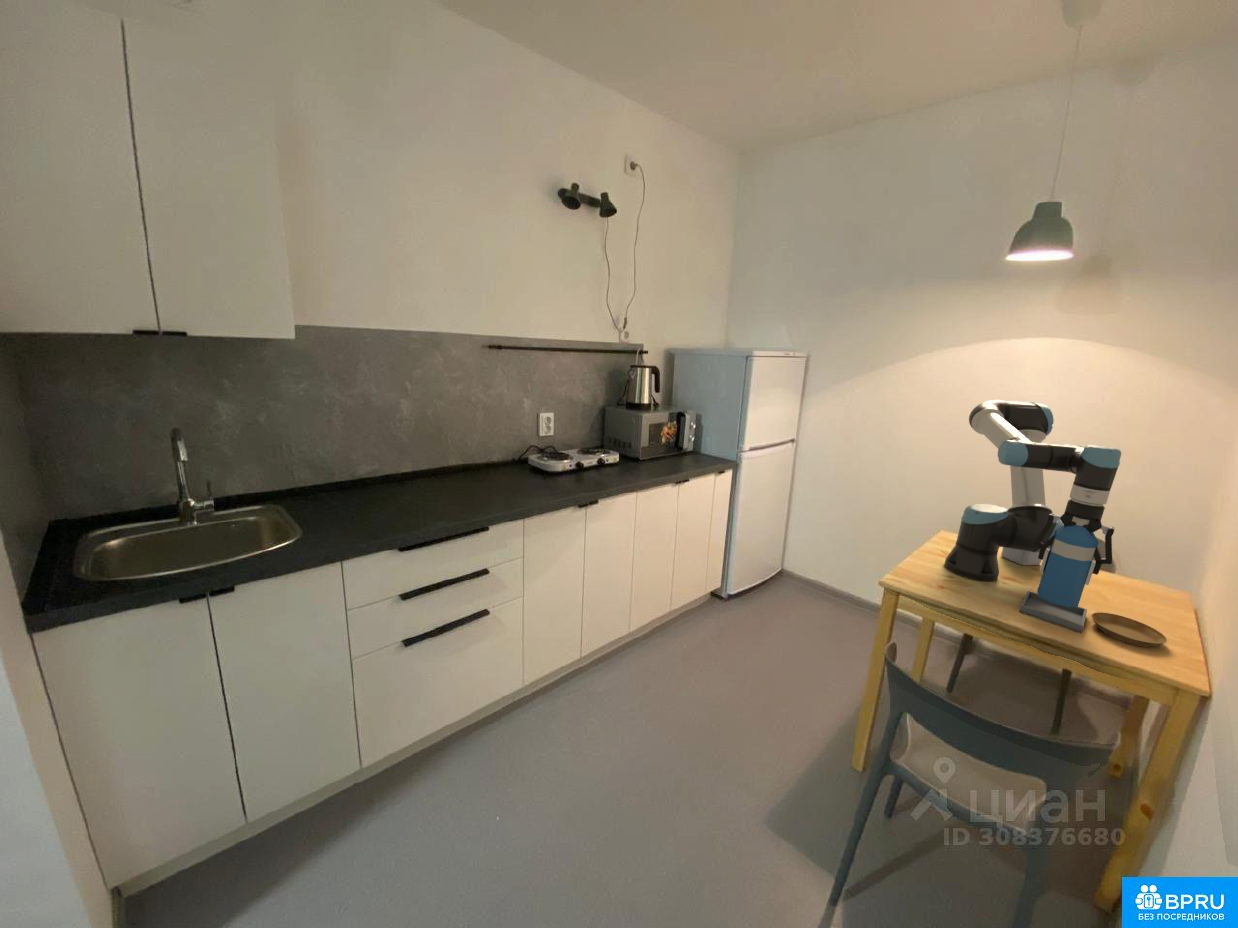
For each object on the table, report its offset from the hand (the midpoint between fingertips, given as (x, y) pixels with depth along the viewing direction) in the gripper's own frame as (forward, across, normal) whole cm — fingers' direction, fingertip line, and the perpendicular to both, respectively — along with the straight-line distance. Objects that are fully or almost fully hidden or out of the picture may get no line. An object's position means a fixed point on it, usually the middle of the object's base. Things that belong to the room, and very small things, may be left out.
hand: (1063, 576), depth 141 cm
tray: (+12, 0, 0) cm, 12 cm away
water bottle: (+7, 0, 0) cm, 7 cm away
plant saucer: (+13, +15, +3) cm, 20 cm away
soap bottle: (+12, -13, +41) cm, 45 cm away
